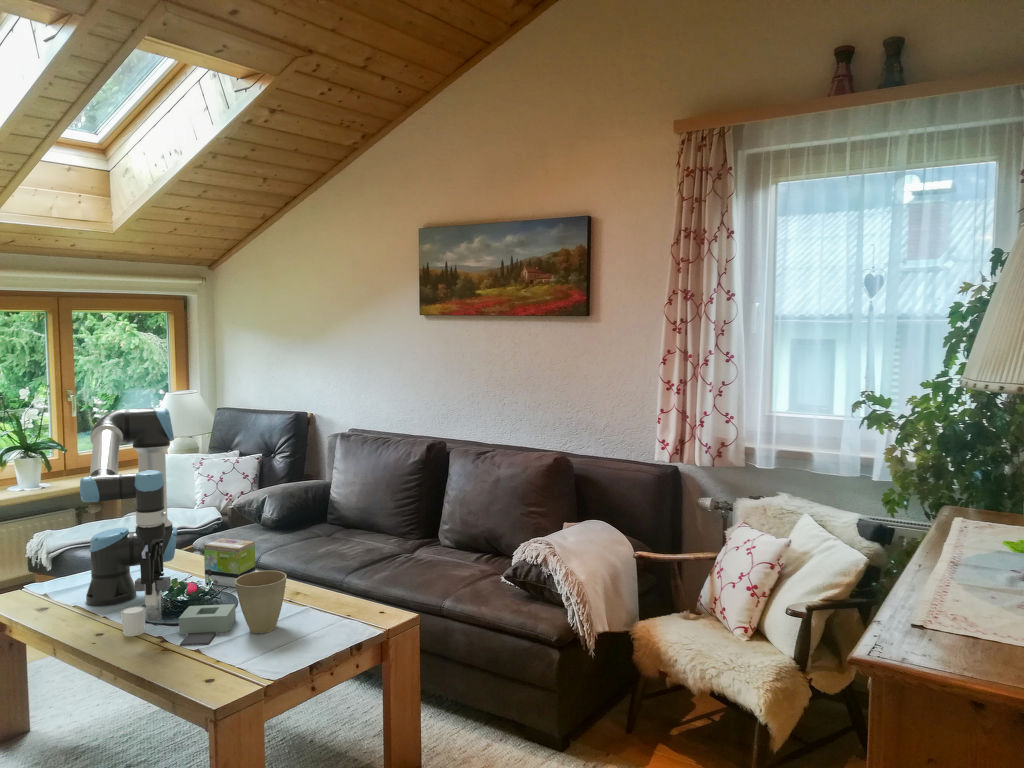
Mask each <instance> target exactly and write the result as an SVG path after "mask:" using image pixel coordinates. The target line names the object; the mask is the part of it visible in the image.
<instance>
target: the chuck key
mask: <svg viewBox="0 0 1024 768" xmlns="http://www.w3.org/2000/svg"><path fill="white" fill-rule="evenodd" d="M154 582H155V593H156V604H155V605H145V608H146V615H145V620H146V621H147V622H156V621H159V620H161V619H162V591H168V590H169V589H170V588H171V587H172V586H171V583H172V582H171V576H160V577H154ZM134 584H135V591H136V592H145V584H141V577H138V578H136V580H135V581H134Z"/></svg>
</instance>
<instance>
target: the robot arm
mask: <svg viewBox="0 0 1024 768" xmlns="http://www.w3.org/2000/svg"><path fill="white" fill-rule="evenodd" d="M170 413H171V412H170V411H169V409H168V408H165V407H142V408H141V407H140V408H119V409H116V410H113V411H110V412H108V413H106V414H104V415H103V416H102V417H101V418H100V419H98V420H97V421H96V423H95V424H94V425H93V427H92V429H91V431H90V437H89V438H90V442H91V445H92V450H91V459H90V470H89V476H83V477H81V479H80V480H79V481H80V482H79V494H80V500H81V502H83V503H98V502H108V501H110V502H111V501H116V500H117V501H118V500H119V501H120V500H132V499H134V500H135V524H136V525H135V531H130V530H129V528H127V527H115V528H111V529H107V530H103V531H101V532H100V531H99V532H98V533H96V534H95V535H93V536H92V537H91V538H90V543H89V544H90V549H89V552H90V572H91V573H90V574H91V576H90V577H91V578H90V579H91V580H90V582H89V586H88V588H87V592H86V596H85V597H86V599H85V600H86V604H87V605H88V606H95V607H103V606H104V607H105V606H106V607H107V606H113V605H114V606H115V605H118V604H123V603H125V602H129V601H131V600H132V599H135V597H137V591H135V581H134V579H133V577H132V574H131V570H130V569H131V567H137V566H140V567H139V568H140V569H139V570H140V578H141V584H145V591H144V605H145V606H146V605H155V604H156V593H155V582H154V577H165V573H164V563H167V562H172V560H174V558H175V554H176V547H177V545H176V544H177V533H178V528H177V527H175V526H173V522H172V521H171V520H170V519H169V518H168V498H167V496H168V495H167V493H168V492H167V466H166V463H167V462H166V451H167V450H168V448H169V447H170V446H171V442H172V441H174V440H175V436H174V431H173V425H172V420H171V414H170ZM124 443H126V444H128V443H129V444H130V443H131V444H132V449H133V450H135V451H136V452H137V462H138V464H137V466H138V472H137V473H135V472H134V473H133V472H132V473H122V474H121V473H120V474H119V459H120V458H119V456H120V455H119V454H120V446H121V445H122V444H124Z"/></svg>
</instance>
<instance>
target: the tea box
mask: <svg viewBox="0 0 1024 768" xmlns="http://www.w3.org/2000/svg"><path fill="white" fill-rule="evenodd" d="M203 545H204V546H203V547H204V548H203V549H204V550H203V552H204V553H203V556H204V559H203V560H204V583H205V584H206V583H207V577H208V576H209V577H210V578H211V579H212V581H213V584H212V585H215V586H222V587H230V586H231V587H232V588H236V585H235V580H236V579H237V578H238V577H240V576H242V575H245V574H248V573H252V572H256V542H255V541H250V540H242V539H234V538H226V537H225V538H223V537H221V538H218V539H216V540H213V541H211V542H208V543H206V544H203ZM206 585H207V584H206ZM231 587H230V588H231Z"/></svg>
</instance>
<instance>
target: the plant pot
mask: <svg viewBox="0 0 1024 768" xmlns="http://www.w3.org/2000/svg"><path fill="white" fill-rule="evenodd" d="M286 583H287V573H285V572H283V571H279V570H260V571H259V570H258V571H255V572H252V573H248V574H245V575H242V576H240V577H238V578H237V579H236V580H235V585H236V587H235V589H236V590H235V591H236V594H237V599H238V602H239V605H240V610H241V612H242V615H243V618H244V620H245V622H246V625H247V627H248V629H249V631H250V632H251V633H252V634H266V633H270V632H272V631H274V630H275V629H276V628H277V624H278V621H279V618H280V615H281V611H282V607H283V602H284V597H285V592H286Z"/></svg>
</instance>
